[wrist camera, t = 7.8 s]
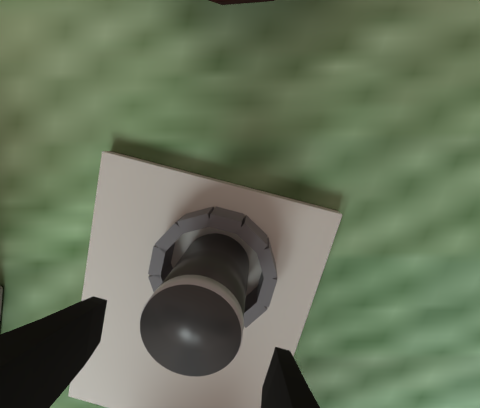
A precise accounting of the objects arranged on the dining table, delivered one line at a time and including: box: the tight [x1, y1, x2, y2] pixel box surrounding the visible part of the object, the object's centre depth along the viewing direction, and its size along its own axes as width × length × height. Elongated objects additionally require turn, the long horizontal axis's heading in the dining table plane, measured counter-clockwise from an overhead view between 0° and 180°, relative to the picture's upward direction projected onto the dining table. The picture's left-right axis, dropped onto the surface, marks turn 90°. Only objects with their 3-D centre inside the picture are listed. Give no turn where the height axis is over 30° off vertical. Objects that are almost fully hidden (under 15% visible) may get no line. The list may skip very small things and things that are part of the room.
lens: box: [140, 233, 249, 377], centre depth 15 cm, size 5×5×7 cm
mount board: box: [68, 151, 342, 408], centre depth 19 cm, size 20×16×3 cm
